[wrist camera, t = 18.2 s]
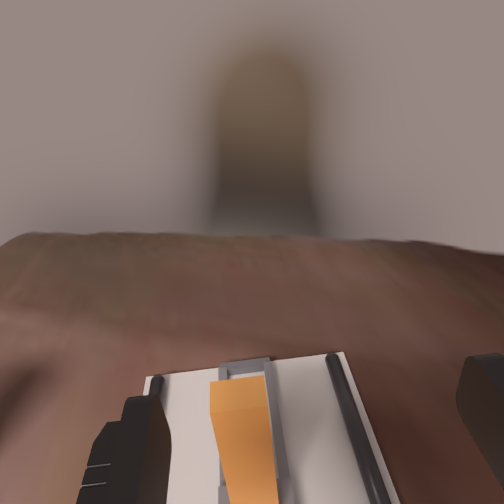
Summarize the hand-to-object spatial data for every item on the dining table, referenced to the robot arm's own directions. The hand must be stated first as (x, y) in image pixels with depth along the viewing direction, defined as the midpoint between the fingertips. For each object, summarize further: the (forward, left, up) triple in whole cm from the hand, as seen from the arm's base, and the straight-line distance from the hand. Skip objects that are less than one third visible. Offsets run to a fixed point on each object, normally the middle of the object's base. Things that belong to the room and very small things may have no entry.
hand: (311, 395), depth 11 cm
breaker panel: (-2, -13, -23) cm, 27 cm away
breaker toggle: (0, -8, -21) cm, 22 cm away
